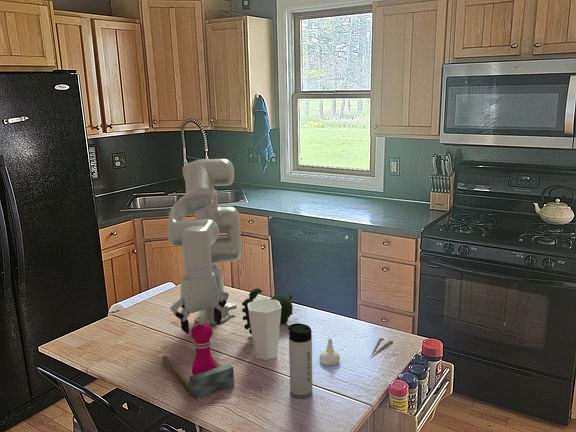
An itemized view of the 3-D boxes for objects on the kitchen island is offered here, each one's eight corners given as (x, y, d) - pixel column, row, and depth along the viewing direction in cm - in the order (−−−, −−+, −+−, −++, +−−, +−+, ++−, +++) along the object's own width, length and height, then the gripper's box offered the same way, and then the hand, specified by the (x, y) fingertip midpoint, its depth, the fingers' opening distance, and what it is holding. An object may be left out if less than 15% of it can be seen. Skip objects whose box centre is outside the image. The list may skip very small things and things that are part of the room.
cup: (287, 350, 167) (286, 301, 163) (276, 365, 157) (275, 313, 154) (255, 345, 170) (254, 297, 167) (243, 359, 161) (241, 309, 157)
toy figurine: (260, 349, 171) (303, 317, 189) (254, 298, 165) (300, 271, 184) (239, 342, 177) (283, 312, 195) (233, 292, 171) (279, 266, 190)
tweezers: (380, 339, 174) (380, 334, 173) (393, 343, 171) (393, 337, 171) (359, 365, 160) (359, 360, 159) (373, 369, 157) (373, 364, 157)
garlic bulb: (325, 370, 155) (327, 347, 153) (315, 359, 160) (316, 337, 158) (343, 365, 158) (344, 342, 155) (332, 354, 163) (333, 332, 161)
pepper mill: (212, 390, 144) (208, 325, 140) (188, 388, 146) (183, 323, 141) (221, 377, 151) (217, 314, 147) (198, 375, 153) (193, 313, 148)
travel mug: (288, 386, 146) (286, 321, 141) (310, 385, 146) (310, 320, 142) (289, 399, 139) (288, 332, 135) (313, 397, 140) (313, 330, 135)
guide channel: (199, 352, 166) (198, 335, 165) (234, 385, 147) (233, 367, 145) (163, 363, 160) (161, 345, 159) (193, 400, 140) (192, 380, 139)
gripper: (220, 260, 148) (223, 314, 153) (163, 273, 139) (168, 330, 143) (232, 268, 142) (235, 324, 146) (173, 281, 133) (178, 341, 137)
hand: (202, 327), depth 145 cm, fingers open, 9 cm apart
